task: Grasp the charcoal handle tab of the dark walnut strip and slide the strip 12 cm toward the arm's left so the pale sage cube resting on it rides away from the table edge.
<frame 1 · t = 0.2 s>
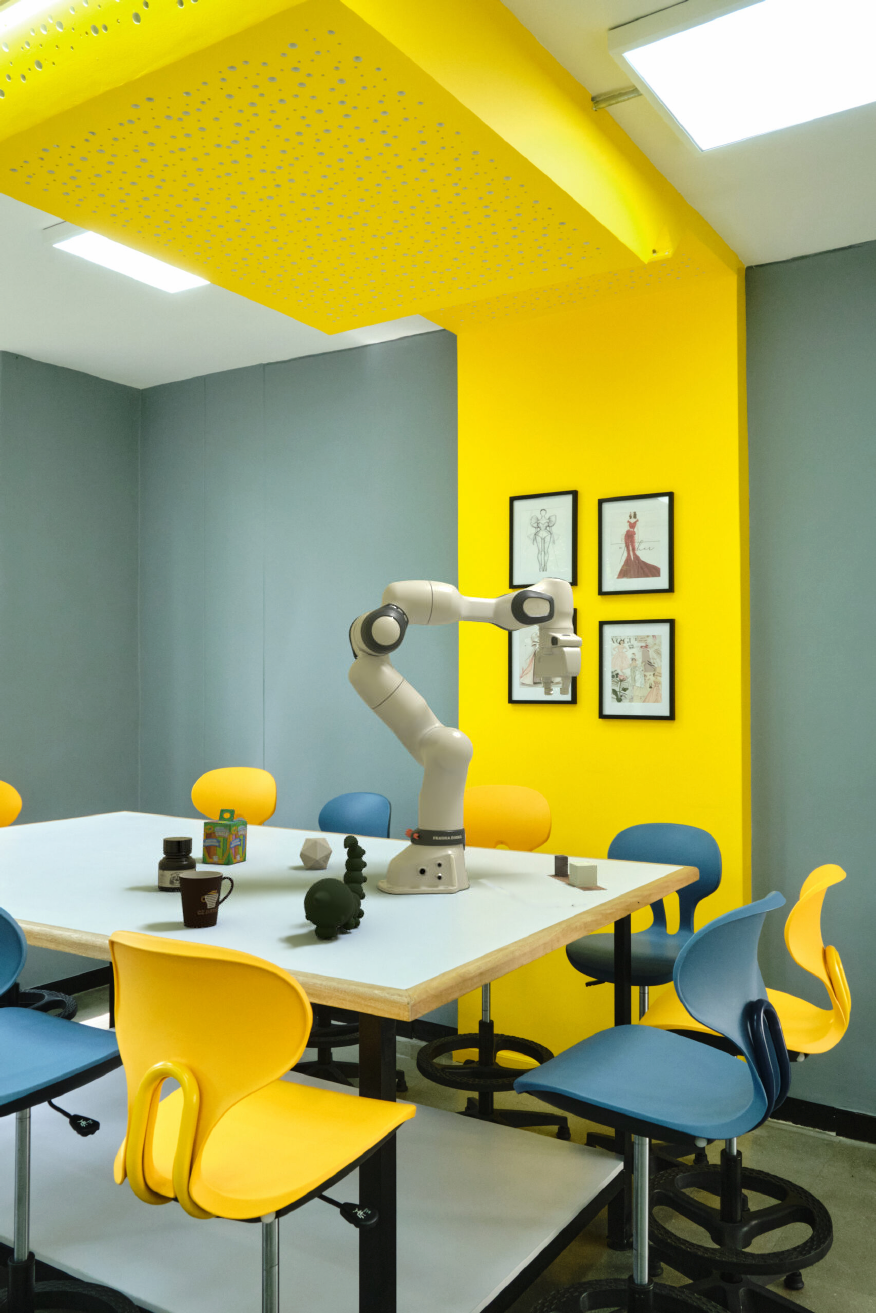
hand: (556, 695, 249), 47 cm above the table, fingers open, 8 cm apart
coffee mug: (207, 924, 196), on the table
cube: (583, 884, 235), point 1 cm above the table, touching strip
strip: (576, 873, 238), point 3 cm above the table, slide at 0.0 cm, touching cube
toy figurine: (337, 932, 190), on the table
die: (315, 868, 264), on the table
chalk box: (224, 862, 274), on the table
ink bottle: (176, 889, 234), on the table
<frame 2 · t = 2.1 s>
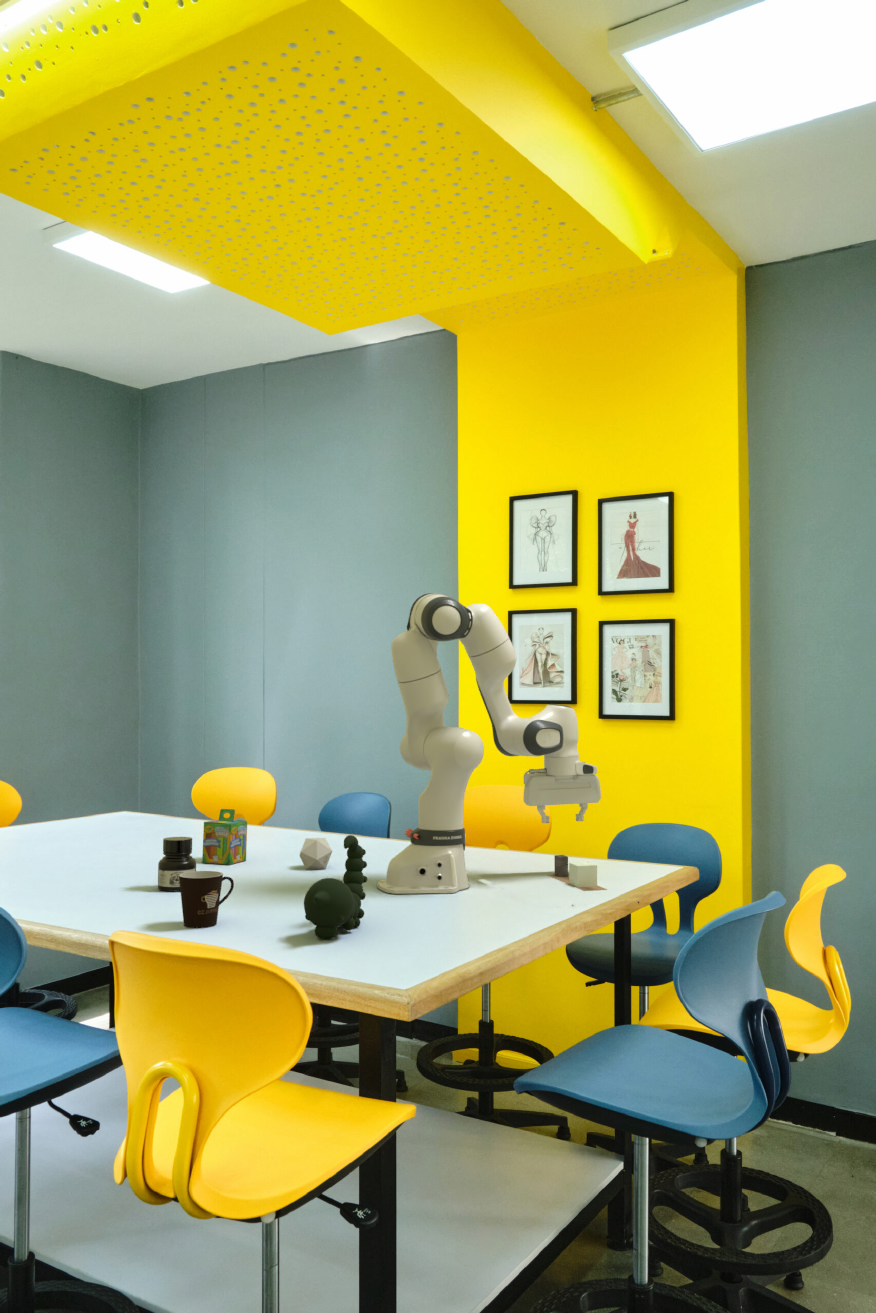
hand: (562, 822, 248), 15 cm above the table, fingers open, 8 cm apart
nothing on the table moved.
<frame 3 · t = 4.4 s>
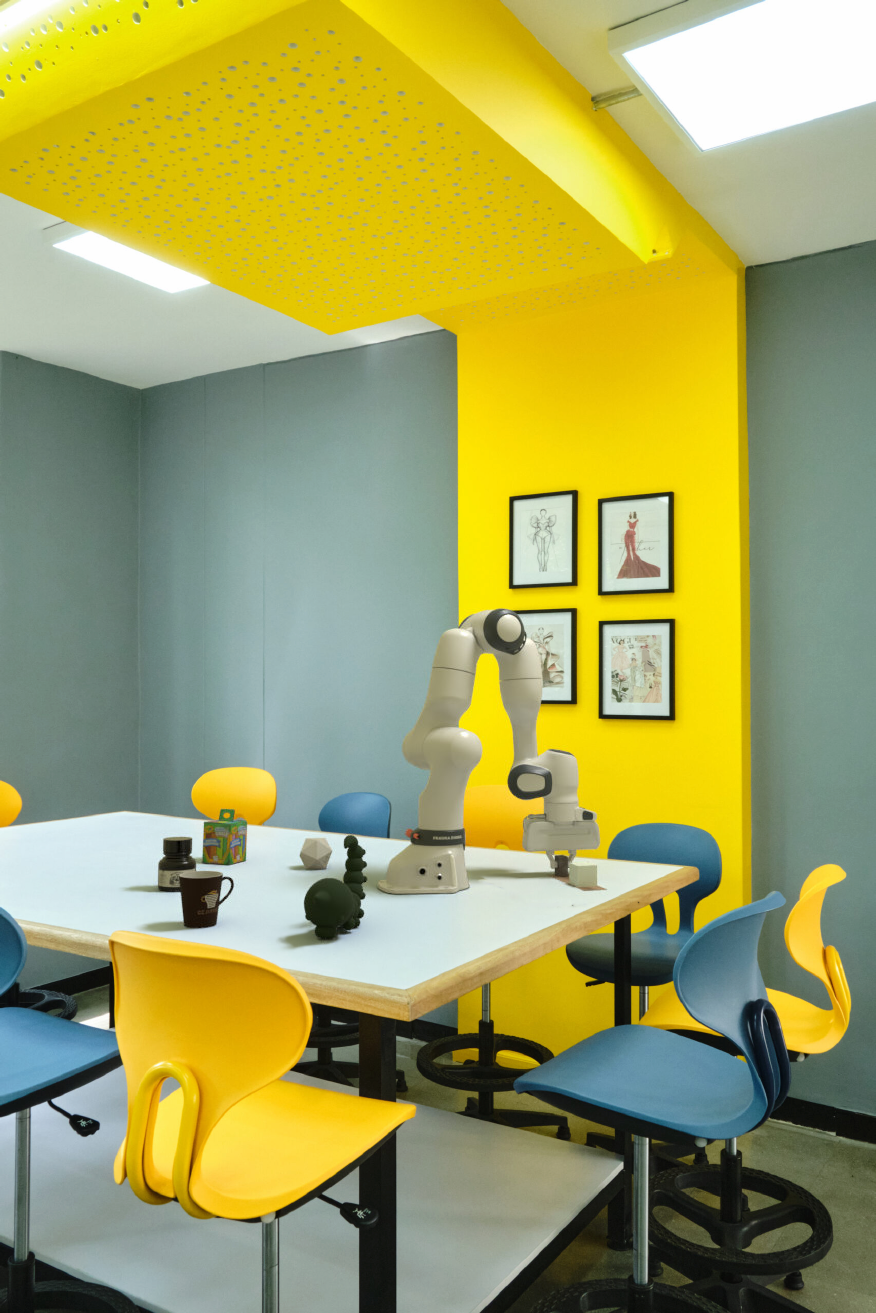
hand: (561, 868, 247), 3 cm above the table, fingers closed on strip, 2 cm apart
strip: (576, 873, 238), point 3 cm above the table, slide at 0.0 cm, touching cube, gripper
everything else where it was.
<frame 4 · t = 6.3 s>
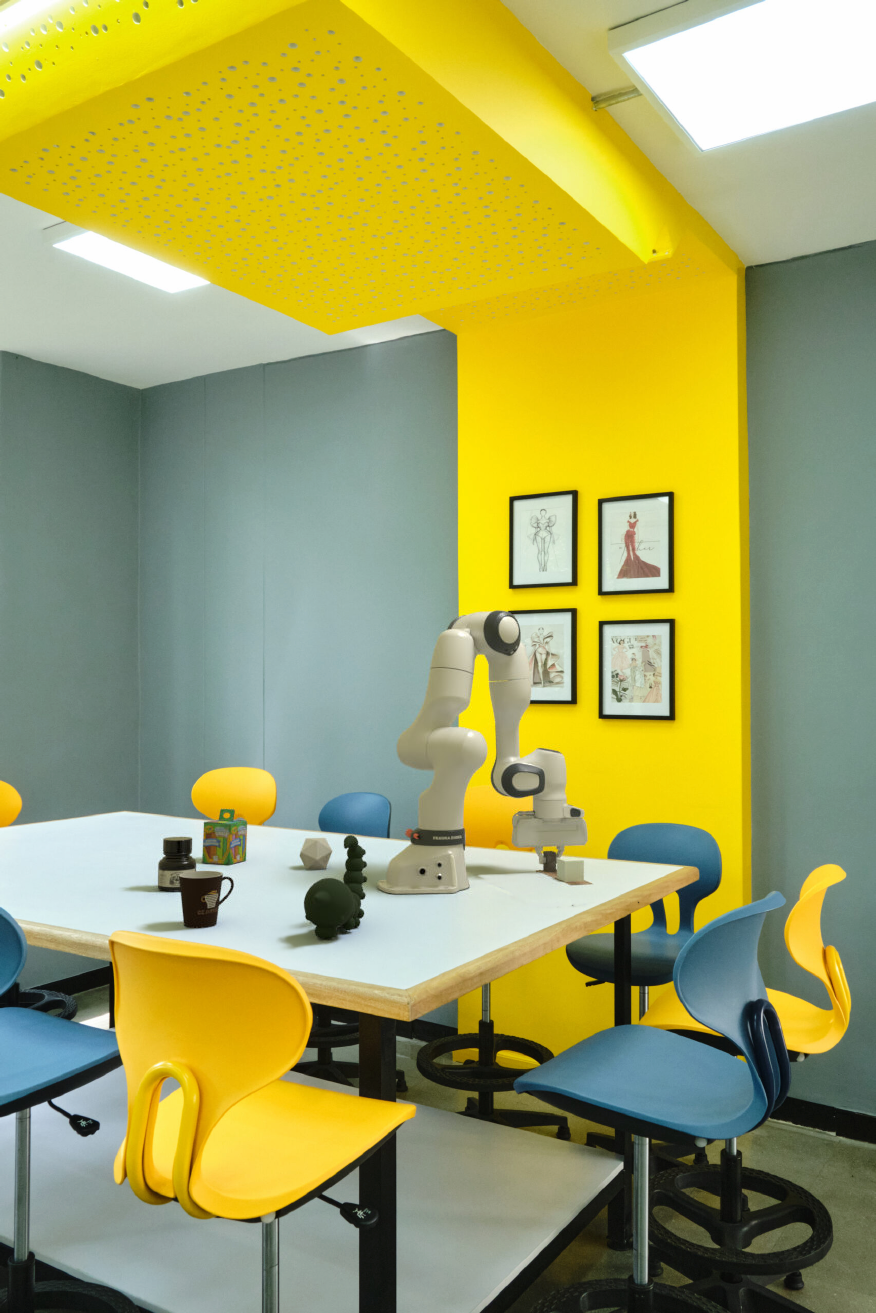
hand: (549, 863, 254), 3 cm above the table, fingers closed on strip, 2 cm apart
cube: (570, 879, 242), point 1 cm above the table, touching strip
strip: (563, 868, 246), point 3 cm above the table, slide at 7.5 cm, touching cube, gripper
everything else where it was.
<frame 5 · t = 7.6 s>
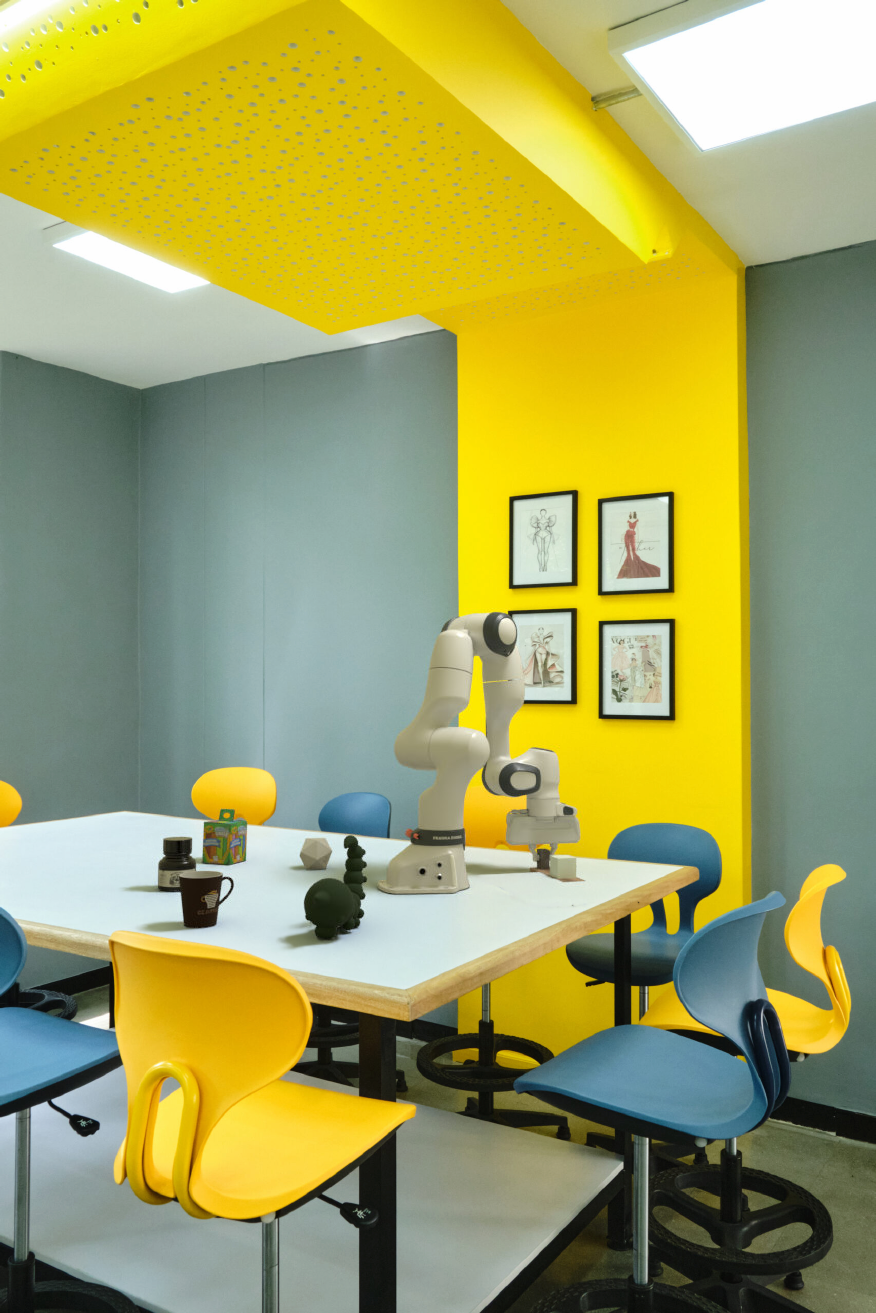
hand: (543, 860, 258), 3 cm above the table, fingers closed on strip, 2 cm apart
cube: (563, 876, 246), point 1 cm above the table, touching strip
strip: (556, 866, 250), point 3 cm above the table, slide at 11.9 cm, touching cube, gripper
everything else where it was.
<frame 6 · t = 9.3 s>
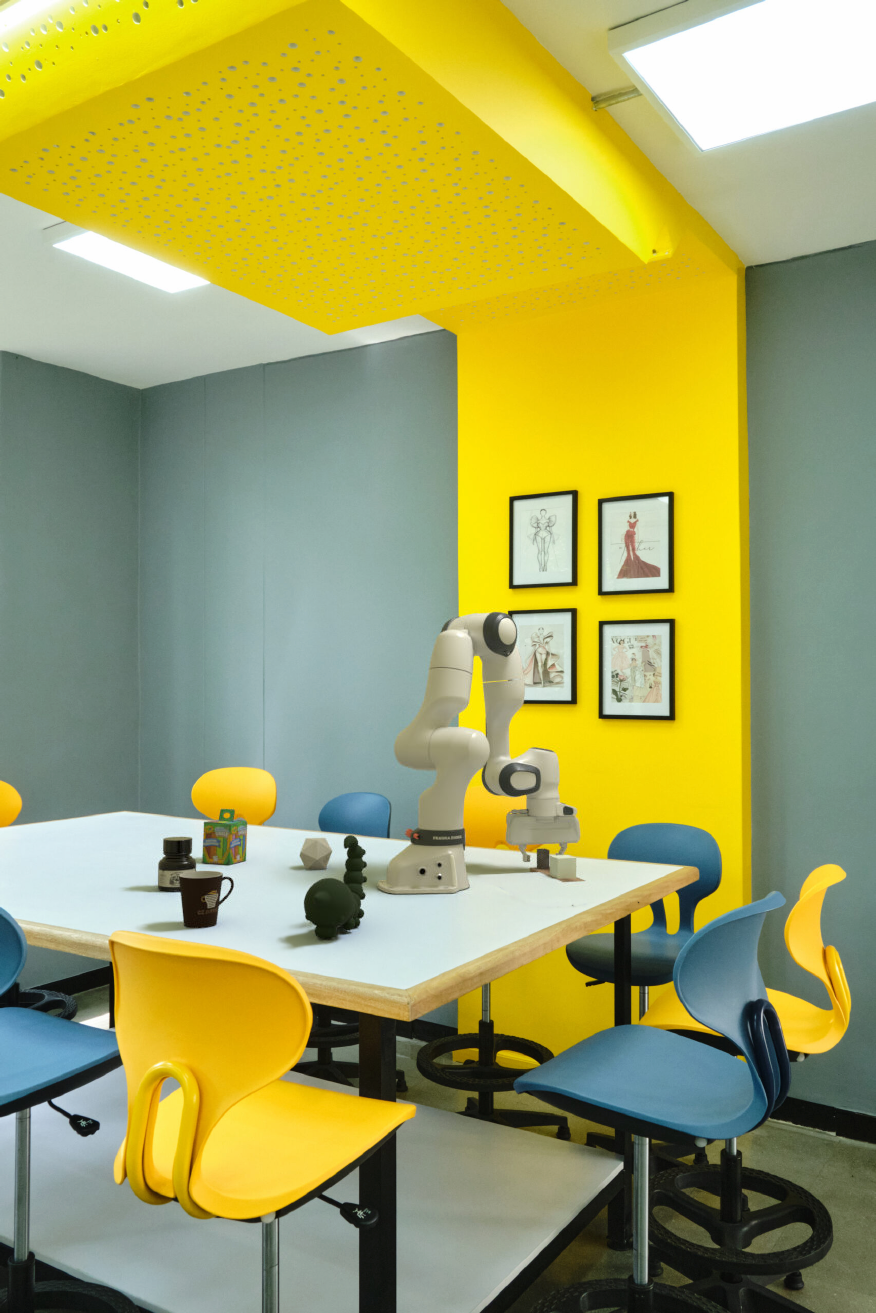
hand: (543, 860, 259), 3 cm above the table, fingers open, 8 cm apart
strip: (556, 866, 250), point 3 cm above the table, slide at 11.9 cm, touching cube
everything else where it was.
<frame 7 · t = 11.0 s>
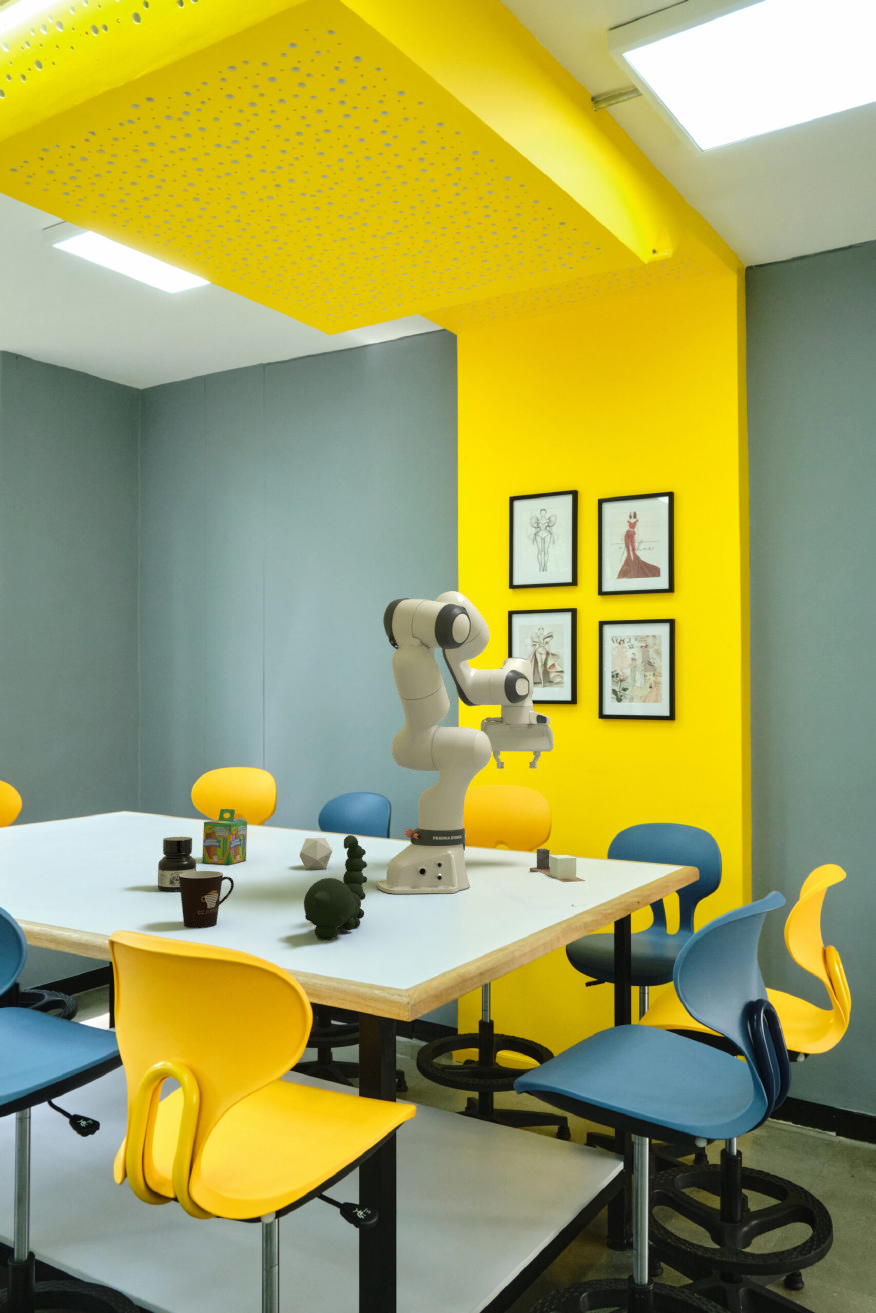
hand: (516, 768, 265), 27 cm above the table, fingers open, 8 cm apart
nothing on the table moved.
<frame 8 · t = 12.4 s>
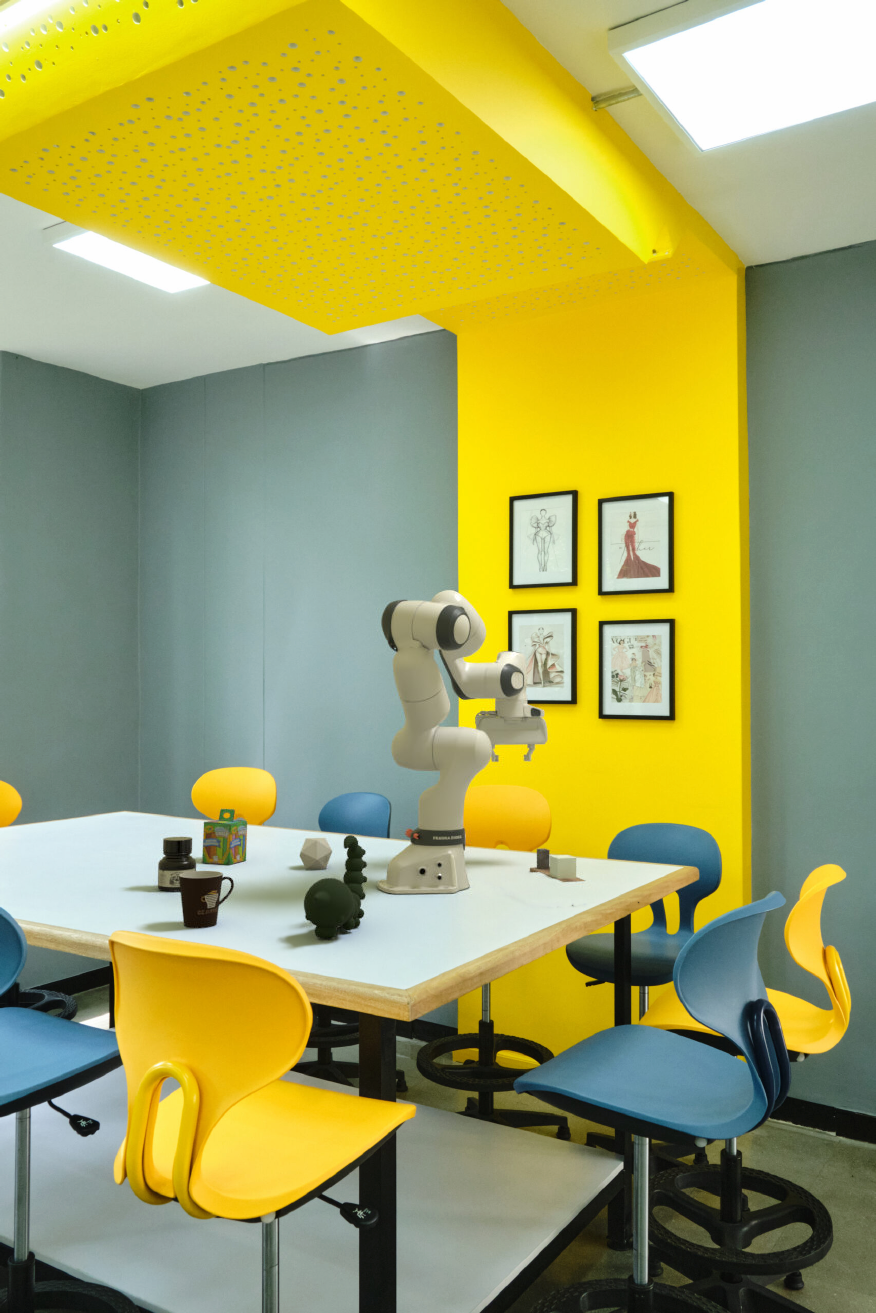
hand: (511, 761, 266), 29 cm above the table, fingers open, 8 cm apart
nothing on the table moved.
at the end: strip slide at 11.9 cm; cube inside the target area (0.1 cm from its centre), point 1.1 cm above the table; cube tilted 0° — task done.
